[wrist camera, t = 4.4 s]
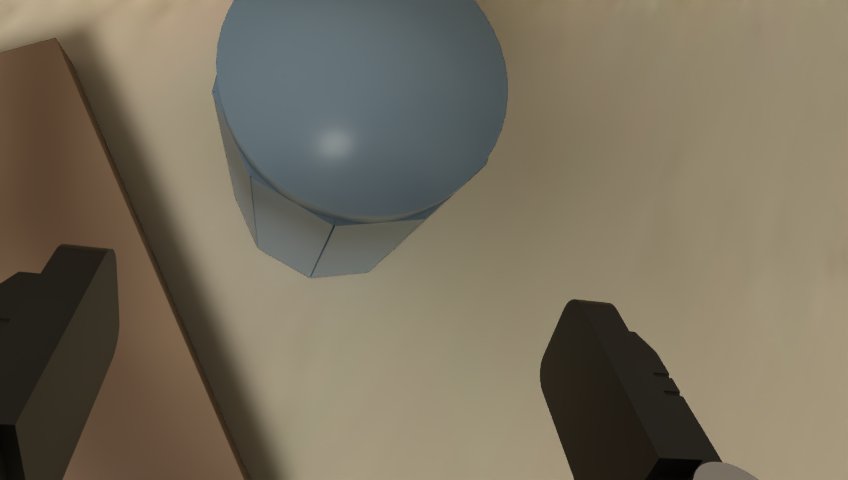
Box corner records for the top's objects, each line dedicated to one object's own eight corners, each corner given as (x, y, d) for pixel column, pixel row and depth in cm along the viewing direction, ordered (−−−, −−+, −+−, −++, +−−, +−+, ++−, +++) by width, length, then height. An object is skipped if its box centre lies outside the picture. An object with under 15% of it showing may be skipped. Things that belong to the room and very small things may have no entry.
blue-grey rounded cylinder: (370, 80, 22) (432, -94, 14) (444, 238, 22) (556, 158, 13) (208, 136, 21) (164, -25, 12) (284, 308, 20) (295, 268, 12)
